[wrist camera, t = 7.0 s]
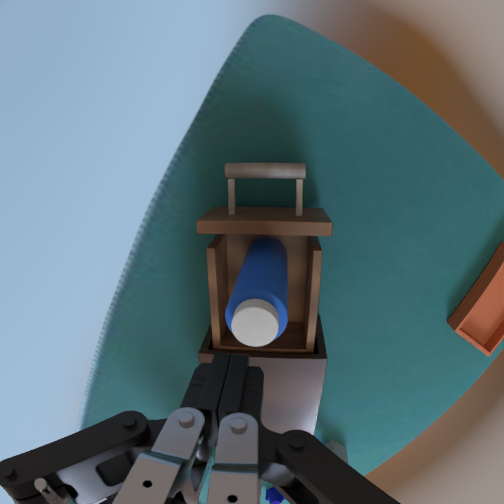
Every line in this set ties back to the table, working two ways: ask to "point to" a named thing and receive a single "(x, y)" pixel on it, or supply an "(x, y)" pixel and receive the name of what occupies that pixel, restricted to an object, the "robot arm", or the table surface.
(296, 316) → the drawer
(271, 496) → the cable holder
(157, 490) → the robot arm
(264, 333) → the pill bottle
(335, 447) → the lighter
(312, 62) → the table surface
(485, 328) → the tray
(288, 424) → the cabinet
